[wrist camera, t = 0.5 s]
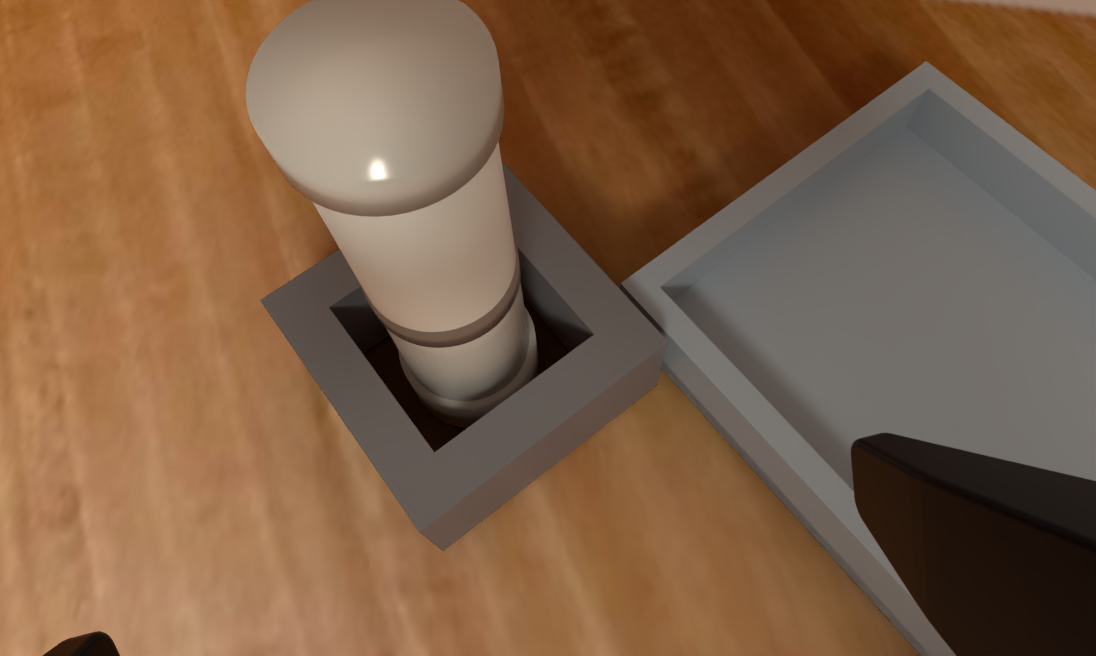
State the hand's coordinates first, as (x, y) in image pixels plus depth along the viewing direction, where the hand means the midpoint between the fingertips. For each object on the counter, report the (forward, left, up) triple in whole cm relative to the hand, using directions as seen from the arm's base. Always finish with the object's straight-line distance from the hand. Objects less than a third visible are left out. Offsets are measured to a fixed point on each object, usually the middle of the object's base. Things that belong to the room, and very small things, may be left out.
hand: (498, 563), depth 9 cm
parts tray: (-3, -14, -13) cm, 19 cm away
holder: (+7, -3, -13) cm, 15 cm away
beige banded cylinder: (+7, -3, -13) cm, 15 cm away
